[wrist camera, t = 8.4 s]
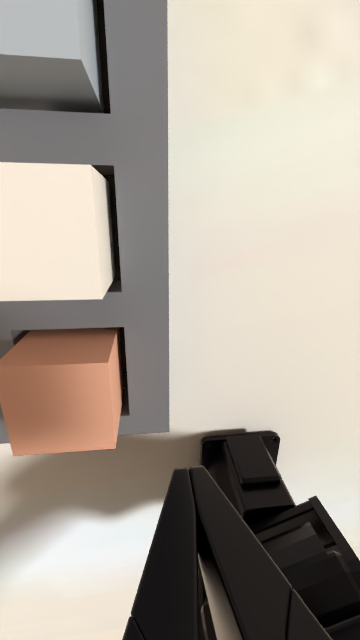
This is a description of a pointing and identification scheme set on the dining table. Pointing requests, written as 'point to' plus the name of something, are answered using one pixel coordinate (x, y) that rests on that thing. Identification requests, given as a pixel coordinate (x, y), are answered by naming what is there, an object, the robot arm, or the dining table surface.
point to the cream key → (54, 232)
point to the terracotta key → (62, 390)
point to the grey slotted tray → (131, 200)
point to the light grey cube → (50, 56)
